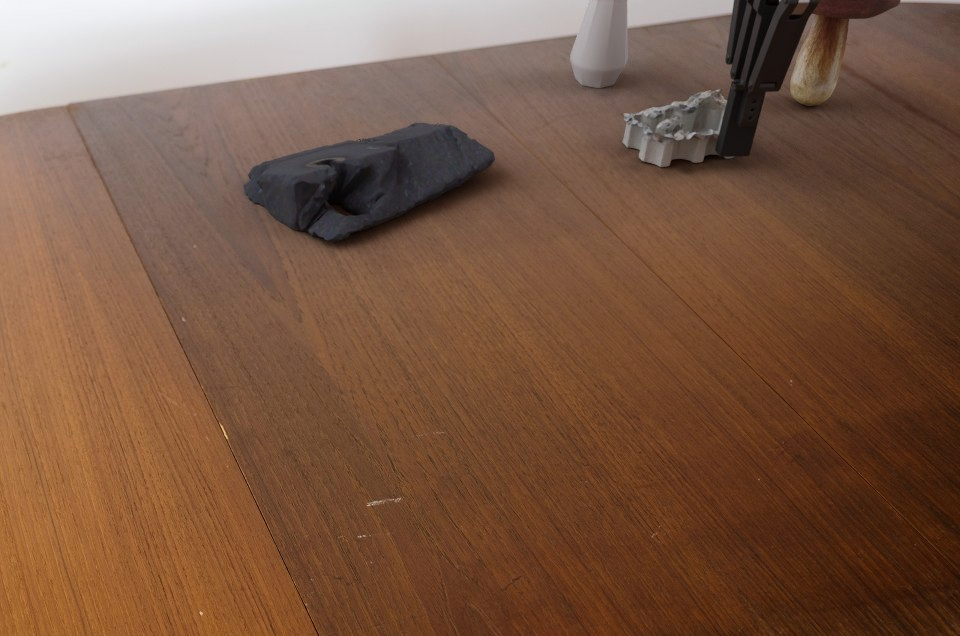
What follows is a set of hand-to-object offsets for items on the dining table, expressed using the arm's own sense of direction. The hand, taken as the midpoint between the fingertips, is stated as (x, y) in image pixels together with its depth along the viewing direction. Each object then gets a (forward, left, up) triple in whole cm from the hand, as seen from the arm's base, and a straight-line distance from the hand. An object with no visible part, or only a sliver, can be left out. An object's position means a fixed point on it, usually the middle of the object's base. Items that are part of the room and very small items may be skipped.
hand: (732, 152), depth 115 cm
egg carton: (+5, -2, -2) cm, 5 cm away
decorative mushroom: (-5, -17, -2) cm, 18 cm away
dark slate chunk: (+30, +16, -2) cm, 34 cm away
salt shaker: (+16, -15, -2) cm, 22 cm away
